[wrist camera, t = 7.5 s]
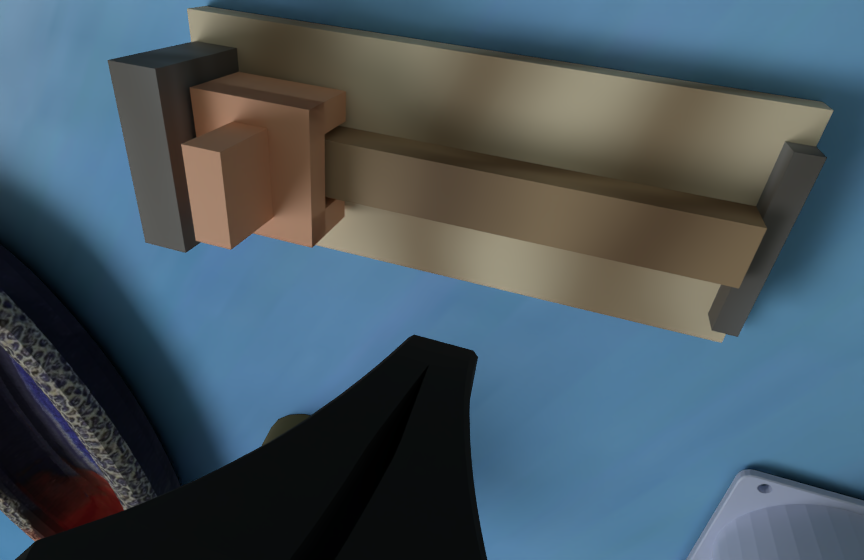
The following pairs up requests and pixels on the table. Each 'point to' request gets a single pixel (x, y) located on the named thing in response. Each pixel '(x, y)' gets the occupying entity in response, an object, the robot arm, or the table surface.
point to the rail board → (528, 129)
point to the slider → (261, 160)
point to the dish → (66, 418)
